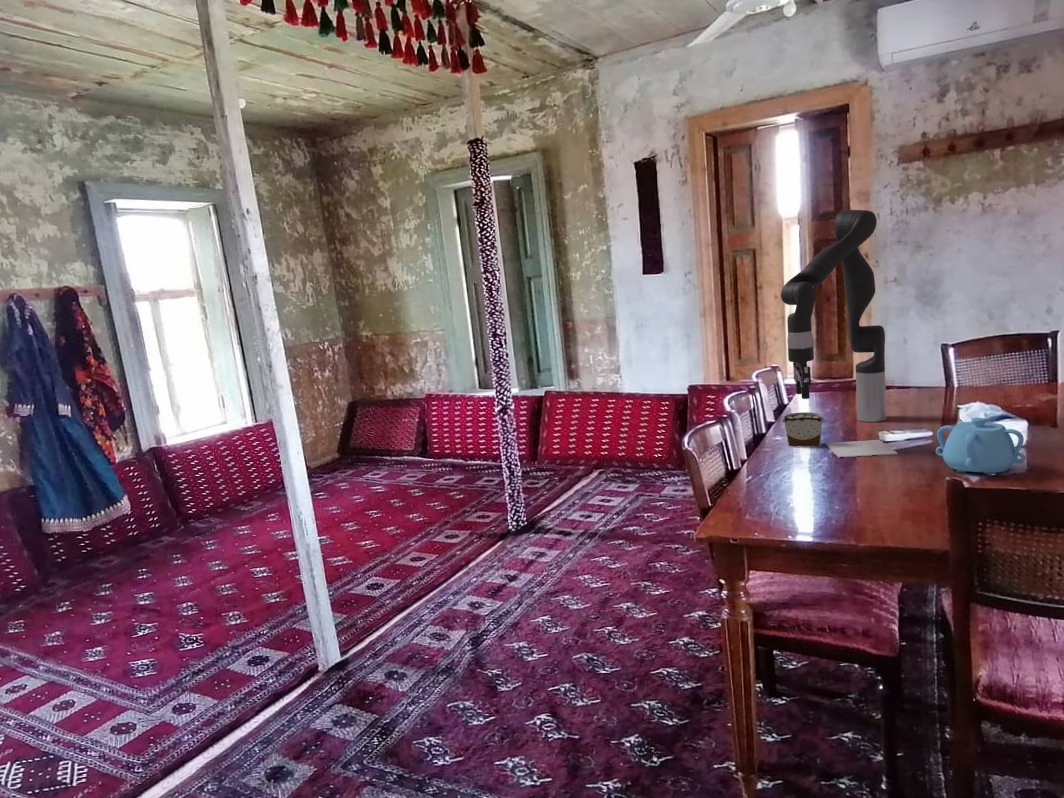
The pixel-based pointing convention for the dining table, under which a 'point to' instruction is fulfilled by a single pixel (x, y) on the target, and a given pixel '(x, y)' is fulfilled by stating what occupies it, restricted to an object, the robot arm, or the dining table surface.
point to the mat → (861, 448)
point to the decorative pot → (980, 447)
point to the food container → (803, 428)
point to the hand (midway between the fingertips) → (802, 396)
